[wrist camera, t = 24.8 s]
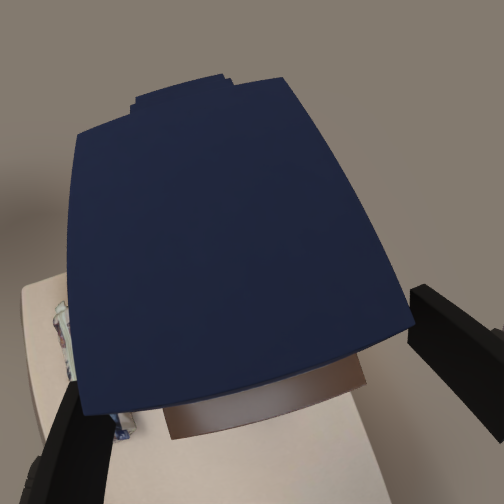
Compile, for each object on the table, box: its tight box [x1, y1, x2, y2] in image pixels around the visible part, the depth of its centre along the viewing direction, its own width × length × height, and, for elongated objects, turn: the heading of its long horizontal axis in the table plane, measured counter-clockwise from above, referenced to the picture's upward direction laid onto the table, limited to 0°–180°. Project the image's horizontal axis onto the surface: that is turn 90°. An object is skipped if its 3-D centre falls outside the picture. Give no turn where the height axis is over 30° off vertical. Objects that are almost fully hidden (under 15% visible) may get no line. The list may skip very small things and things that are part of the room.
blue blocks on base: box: [67, 74, 415, 416], centre depth 16 cm, size 22×8×12 cm, turn 16°
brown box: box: [163, 353, 367, 440], centre depth 34 cm, size 26×12×28 cm, turn 16°
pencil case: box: [53, 301, 136, 443], centre depth 38 cm, size 22×8×10 cm, turn 23°
